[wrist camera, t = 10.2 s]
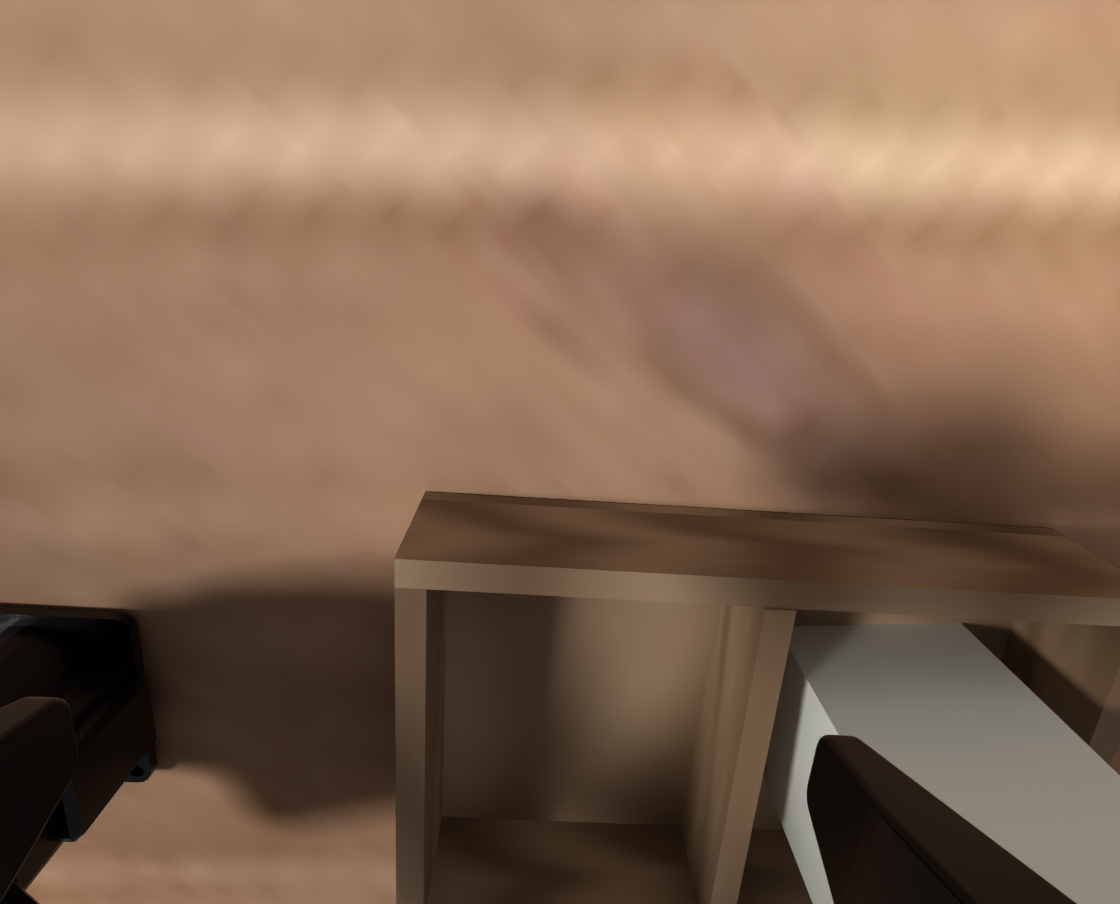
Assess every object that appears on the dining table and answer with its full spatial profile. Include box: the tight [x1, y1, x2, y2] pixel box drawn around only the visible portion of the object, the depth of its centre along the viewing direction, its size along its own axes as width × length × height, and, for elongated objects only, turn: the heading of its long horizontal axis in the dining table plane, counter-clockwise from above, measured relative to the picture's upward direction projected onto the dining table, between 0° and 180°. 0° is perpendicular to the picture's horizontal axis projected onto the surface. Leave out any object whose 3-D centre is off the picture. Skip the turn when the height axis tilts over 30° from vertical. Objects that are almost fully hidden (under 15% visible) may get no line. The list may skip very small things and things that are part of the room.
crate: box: [394, 492, 1120, 904], centre depth 21 cm, size 20×13×5 cm, turn 86°
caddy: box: [763, 623, 1120, 904], centre depth 18 cm, size 6×6×10 cm
